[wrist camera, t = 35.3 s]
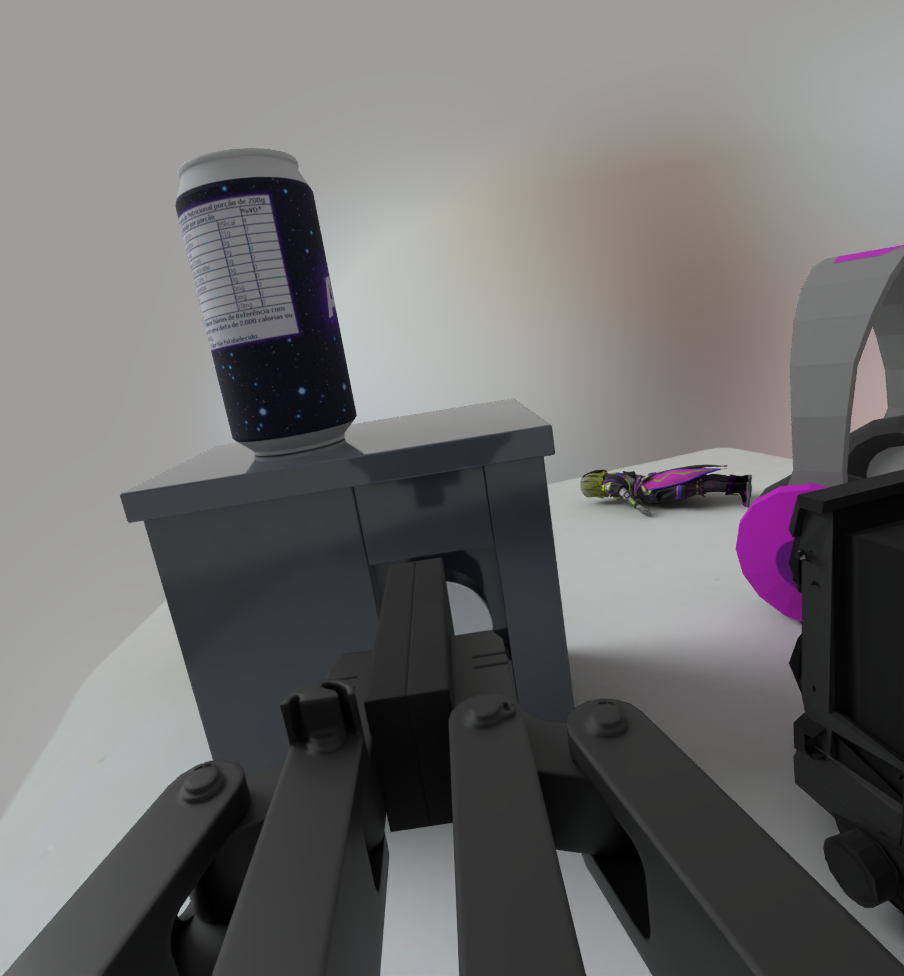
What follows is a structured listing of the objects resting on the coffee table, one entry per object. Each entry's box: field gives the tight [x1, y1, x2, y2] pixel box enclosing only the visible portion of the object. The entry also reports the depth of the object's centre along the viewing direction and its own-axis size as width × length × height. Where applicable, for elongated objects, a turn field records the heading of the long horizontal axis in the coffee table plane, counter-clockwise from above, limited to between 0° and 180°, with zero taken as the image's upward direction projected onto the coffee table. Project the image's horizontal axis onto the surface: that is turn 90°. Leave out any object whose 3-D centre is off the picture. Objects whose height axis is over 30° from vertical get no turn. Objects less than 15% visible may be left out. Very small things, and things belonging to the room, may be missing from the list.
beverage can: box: [176, 148, 357, 456], centre depth 27 cm, size 6×6×12 cm
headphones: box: [736, 245, 904, 622], centre depth 38 cm, size 21×9×20 cm, turn 132°
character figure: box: [580, 465, 752, 516], centre depth 60 cm, size 9×4×16 cm
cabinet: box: [120, 399, 574, 777], centre depth 30 cm, size 17×11×15 cm, turn 92°
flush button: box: [444, 569, 493, 635], centre depth 25 cm, size 4×1×4 cm, turn 92°
